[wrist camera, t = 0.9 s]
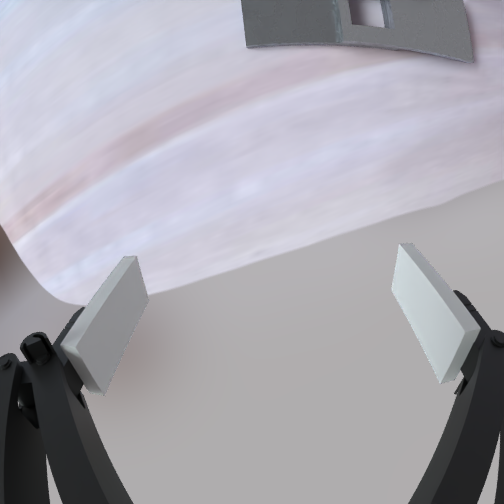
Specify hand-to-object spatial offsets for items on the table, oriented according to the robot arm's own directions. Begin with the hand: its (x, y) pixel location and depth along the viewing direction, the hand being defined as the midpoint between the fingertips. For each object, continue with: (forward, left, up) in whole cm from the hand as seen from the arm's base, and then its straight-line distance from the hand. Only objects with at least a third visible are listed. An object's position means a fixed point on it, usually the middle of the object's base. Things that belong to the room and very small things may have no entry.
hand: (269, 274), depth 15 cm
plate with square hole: (-21, +14, -25) cm, 35 cm away
